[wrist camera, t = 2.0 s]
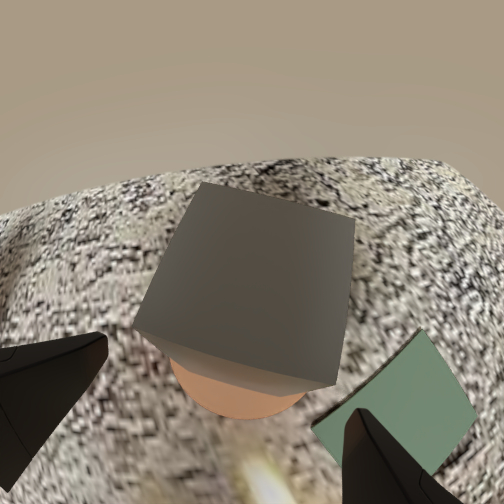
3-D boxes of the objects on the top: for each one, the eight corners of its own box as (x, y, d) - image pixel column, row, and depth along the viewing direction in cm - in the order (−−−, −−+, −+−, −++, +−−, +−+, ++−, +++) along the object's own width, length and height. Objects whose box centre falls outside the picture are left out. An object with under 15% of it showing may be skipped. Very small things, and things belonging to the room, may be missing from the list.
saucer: (220, 444, 16) (216, 457, 11) (149, 320, 20) (127, 295, 16) (344, 364, 19) (373, 351, 15) (266, 259, 24) (273, 223, 19)
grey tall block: (279, 397, 16) (335, 385, 7) (188, 371, 17) (131, 326, 8) (299, 312, 20) (355, 218, 10) (216, 290, 20) (202, 181, 11)
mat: (383, 517, 12) (385, 518, 11) (310, 428, 17) (311, 428, 16) (474, 415, 16) (477, 415, 15) (420, 330, 21) (422, 329, 20)
